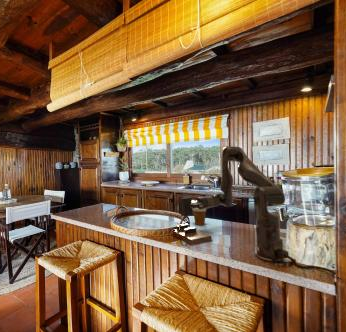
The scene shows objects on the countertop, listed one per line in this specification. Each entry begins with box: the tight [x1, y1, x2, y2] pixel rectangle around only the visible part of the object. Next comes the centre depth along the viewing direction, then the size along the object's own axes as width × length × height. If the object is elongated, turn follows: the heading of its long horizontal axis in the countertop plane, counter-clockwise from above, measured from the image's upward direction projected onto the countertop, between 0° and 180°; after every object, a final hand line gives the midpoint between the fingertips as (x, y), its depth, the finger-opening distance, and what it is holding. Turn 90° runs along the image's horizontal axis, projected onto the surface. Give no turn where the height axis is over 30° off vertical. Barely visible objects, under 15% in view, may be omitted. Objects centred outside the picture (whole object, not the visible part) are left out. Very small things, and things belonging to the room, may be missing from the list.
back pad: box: [179, 196, 193, 218], centre depth 130 cm, size 4×6×11 cm, turn 110°
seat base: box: [172, 223, 212, 246], centre depth 126 cm, size 18×14×6 cm
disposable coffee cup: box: [192, 208, 207, 226], centre depth 152 cm, size 10×10×12 cm
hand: (182, 205), depth 129 cm, fingers closed on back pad, 3 cm apart
